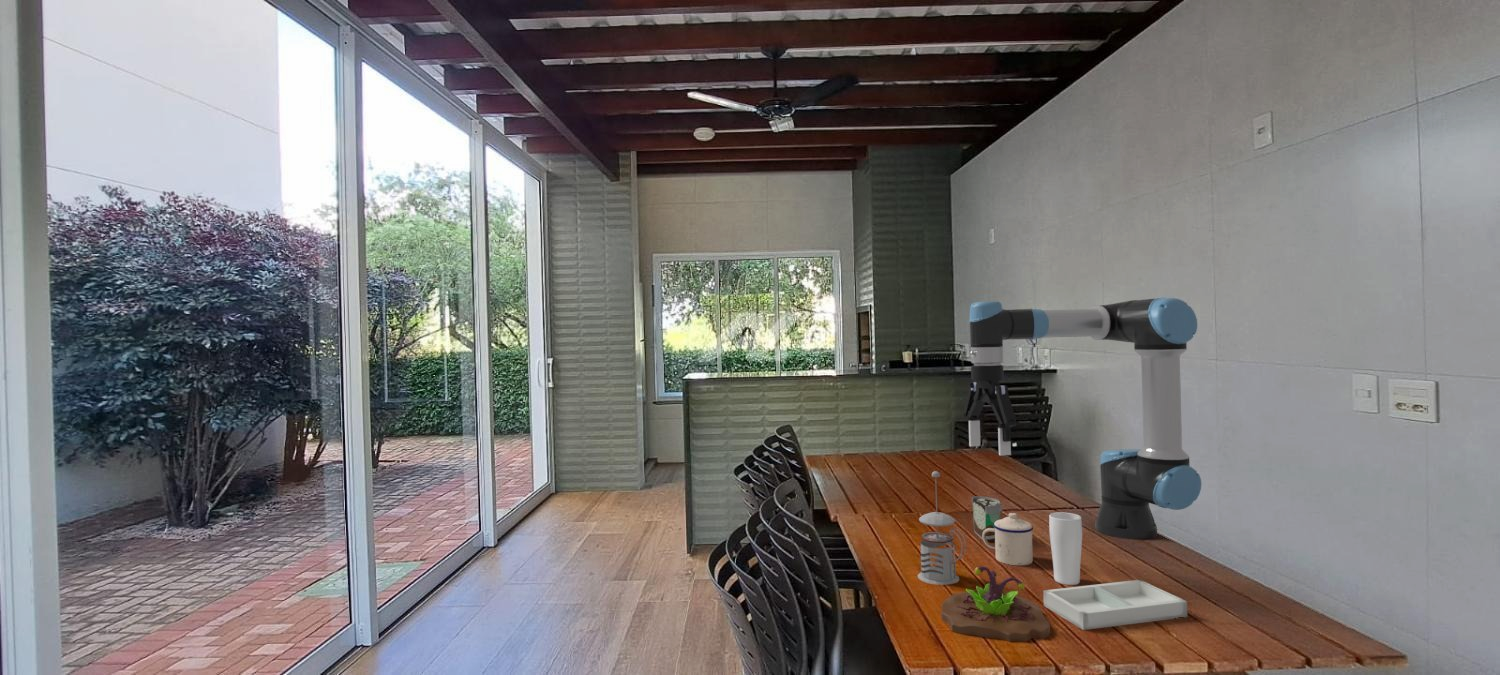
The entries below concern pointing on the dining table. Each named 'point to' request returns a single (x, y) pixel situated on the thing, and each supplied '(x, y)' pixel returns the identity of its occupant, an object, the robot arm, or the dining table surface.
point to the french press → (946, 570)
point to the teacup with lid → (1012, 540)
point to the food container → (985, 515)
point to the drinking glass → (1066, 546)
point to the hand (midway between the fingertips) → (989, 450)
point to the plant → (994, 612)
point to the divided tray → (1114, 604)
